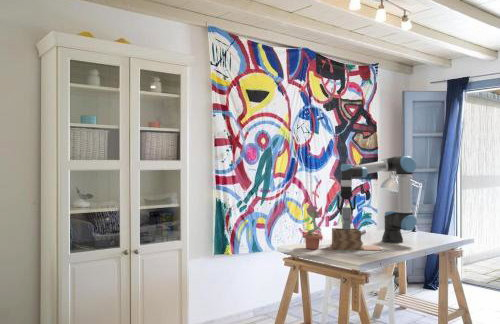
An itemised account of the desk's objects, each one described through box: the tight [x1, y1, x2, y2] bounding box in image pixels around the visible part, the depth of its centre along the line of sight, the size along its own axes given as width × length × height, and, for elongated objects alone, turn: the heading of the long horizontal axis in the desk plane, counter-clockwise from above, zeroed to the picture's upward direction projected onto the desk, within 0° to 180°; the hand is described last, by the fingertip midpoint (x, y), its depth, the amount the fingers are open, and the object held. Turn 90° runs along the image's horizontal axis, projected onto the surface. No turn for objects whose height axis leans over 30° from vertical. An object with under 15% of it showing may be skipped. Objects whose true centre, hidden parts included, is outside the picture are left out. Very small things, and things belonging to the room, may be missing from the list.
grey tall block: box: [340, 206, 352, 230], centre depth 303 cm, size 5×13×20 cm, turn 176°
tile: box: [361, 245, 383, 252], centre depth 301 cm, size 12×14×1 cm
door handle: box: [360, 229, 367, 246], centre depth 321 cm, size 18×8×20 cm
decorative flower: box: [302, 205, 324, 250], centre depth 301 cm, size 15×14×30 cm
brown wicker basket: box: [330, 227, 363, 251], centre depth 302 cm, size 20×13×13 cm, turn 86°
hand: (346, 219), depth 303 cm, fingers closed on grey tall block, 5 cm apart
